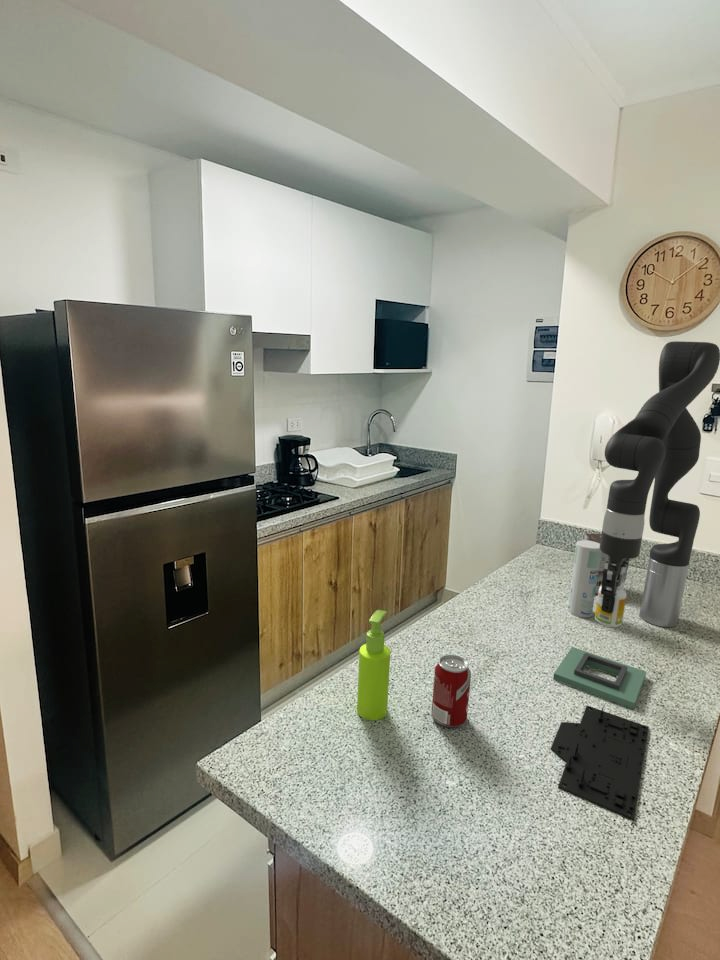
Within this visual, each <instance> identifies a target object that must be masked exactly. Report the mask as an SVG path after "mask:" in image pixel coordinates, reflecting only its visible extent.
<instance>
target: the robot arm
mask: <svg viewBox="0 0 720 960" xmlns="http://www.w3.org/2000/svg"><path fill="white" fill-rule="evenodd" d="M659 356H660V357H659V361H658V392H656V393H655V394H653V395H652V396H650V398H648V399H647V400H646V401H645V402H644V404H643V405H642V406H641V408H640V410H639V411H638V413H637V414H636V416H635V417H634V418H633V419H632V420H630V421H629V422H627V423H626V424H625V425H624V426H622V427H621V428H619V429H618V430H617V431H615V433H613V434H612V435H611V437H610V438H609V439H608V441H607V443H606V445H605V448H604V459H605V460H606V463H607V464H609V466H611V467H613V468H616V469H622V470H629V471H633V472H634V471H635V472H638V473H637V476H636V477H635V478H634V479H618V480H614V481H612V482H611V483H610V485H609V489H608V497H607V505H606V510H605V513H604V516H603V520H602V521H603V522H602V529H601V533H600V534H601V541H600V550H601V551H602V552H603V553H605V554H607V555H608V556H609V557H610V558H608V561H606V562H605V566H604V568H605V569H604V570H603V579H602V588H601V594H602V595H603V601H602V608H601V610H602V611H603V612H607V613H612V612H613V610H614V604H615V598H616V596H617V590H618V587H620V586H621V584H622V580H624V581H625V582H626V580H627V575H628V570H629V568H630V567H629V566H630V560H632V559H636V558H638V557H639V556H640V552H641V546H642V541H643V534H644V529H645V515H646V514H645V513H646V508H647V501H648V497H649V493H650V490H651V487H652V484H654V485H653V490H652V497H651V504H650V510H649V517H648V518H649V519H648V520H649V522H648V524H649V527H650V529H651V531H653V532H654V533H658V534H662V535H666V536H670V537H674V538H678V540H677V541H675V542H674V541H673V542H669V543H660V544H655V545H653V546H652V547H651V548H650V551H649V557H648V563H647V569H646V573H645V574H646V575H645V581H644V584H643V591H642V597H641V603H640V609H639V613H638V614H639V617H640V619H642V620H643V621H645V622H647V623H649V624H650V625H651V624H652V625H655V626H658V627H663V628H673V627H674V628H675V627H677V625H678V623H679V617H680V613H681V607H682V603H683V598H684V592H685V588H686V584H687V583H686V582H687V576H688V571H689V566H690V560H691V556H692V552H693V551H692V550H693V546H694V541H695V538H696V533H697V530H698V526H699V522H700V517H701V513H700V511H701V510H700V508H699V506H698V505H697V504H694V503H690V502H685V501H680V500H679V501H678V500H674V499H673V500H672V499H669V497H668V496H669V493H670V491H671V490H672V489H673V488H674V486H675V485H676V484H677V483H678V482H679V481H680V480H682V478H683V477H684V476H686V475H687V474H688V473H689V472H690V471H691V470H692V469H693V467H694V466H696V464H697V463H698V461H699V458H700V450H701V441H702V435H701V434H702V433H701V430H700V428H699V426H698V424H697V423H696V421H695V419H694V417H693V416H692V414H691V413H690V412H689V410H688V409H687V407H688V406H689V405H691V403H692V402H693V401H694V400H696V399H697V397H699V395H700V394H701V393H702V392H703V391H704V390H705V389H706V388H707V386H708V385H709V384H710V383H711V381H712V380H713V379H714V378H715V376H716V374H717V372H718V369H719V365H720V348H719V346H718V345H717V344H715V343H713V342H708V341H707V342H706V341H678V340H677V341H669V342H667V343H666V344H664V346H663V348H662V349H661V352H660V355H659ZM617 580H618V582H617ZM607 587H611V588H612V591H611V590H607Z"/></svg>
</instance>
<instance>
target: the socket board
mask: <svg viewBox="0 0 720 960" xmlns="http://www.w3.org/2000/svg"><path fill="white" fill-rule="evenodd" d="M587 667H590V668H593V669H595V670H597V671H598V670H599V671H601V672H604V673H606V674H608V675H609V674H610V675H612V676H615V677H616V678H615V680H614V681H613V680H610V679H607V678H605V677H602V676H600V675H596V674H593V673H591V672H589V671H585V670H587ZM646 677H647V671H646V670H643V669H641V668H637V667H634V666H630V665H627V664H625V663H622V662H619V661H615V660H613V659H610V658H607V657H603V656H601V655H599V654H594V653H592V652H589V651H587V650H583V649H580V648H577V647H574V646H571V647H570V649H569V651H568V652H567V654H566V655H565V656H564V658H563V659H562V661H561V662H560V664H559V665H558V667H557V668H556V669H555V671H554V673H553V677H552V681H553V680H554V681H556V682H559V683H562V684H565V685H566V686H570V687H573V688H574V689H575V688H576V689H577V690H580V691H583V692H586V693H588V694H591V695H594V696H597V697H598V698H602V699H604V700H607V701H610V702H612V703H615V704H617V705H620V706H623V707H626V708H628V709H631V710H634V709H635V707H636V704H637V701H638V699H639V696H640V693H641V690H642V688H643V685H644V683H645V679H646Z"/></svg>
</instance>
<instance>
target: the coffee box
mask: <svg viewBox="0 0 720 960" xmlns="http://www.w3.org/2000/svg"><path fill="white" fill-rule="evenodd" d="M601 534H602V533H584V539H583V540H588V541H594V542H597V543H599V544H600V541H601ZM608 558H610V557H609V556H608V555H607V554H605V553H603V552H602V554H601V560H600V566H599V572H598V579H597V585H596V591H595V595H596V594H597V595H598V591H599V588H600V587H601V586H602V579H603V570H604V569H605V568H604V566H605V562H606V561H608Z"/></svg>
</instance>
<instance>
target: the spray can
mask: <svg viewBox="0 0 720 960" xmlns="http://www.w3.org/2000/svg"><path fill="white" fill-rule="evenodd" d="M601 554H602V551H601V550H600V544H599V543H597V542H594V541H588V540H584V539H581V540H578V541H576V542H575V551H574V557H573V558H574V559H573V565H572V576H571V582H570V591H569V595H568V596H569V598H568V605H567V611H568V612H569V614H571V615H572V616H575V617H579V618H582V619H583V618H584V619H585V618H586V619H587V618H590V617H591V616H592V614H593V609H594V603H595V599H596V598H595V596H596V594H595V591H596V585H597V579H598V572H599V566H600V560H601Z"/></svg>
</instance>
